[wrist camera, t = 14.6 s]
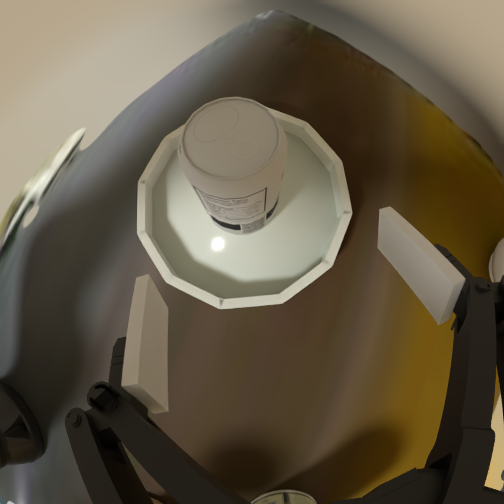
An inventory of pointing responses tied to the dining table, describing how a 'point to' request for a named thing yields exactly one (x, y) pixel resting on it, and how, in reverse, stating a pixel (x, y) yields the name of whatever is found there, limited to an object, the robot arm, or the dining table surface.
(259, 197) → the supplement can
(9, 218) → the dining table surface
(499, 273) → the flower vase
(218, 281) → the ceramic bowl
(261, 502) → the coffee can
